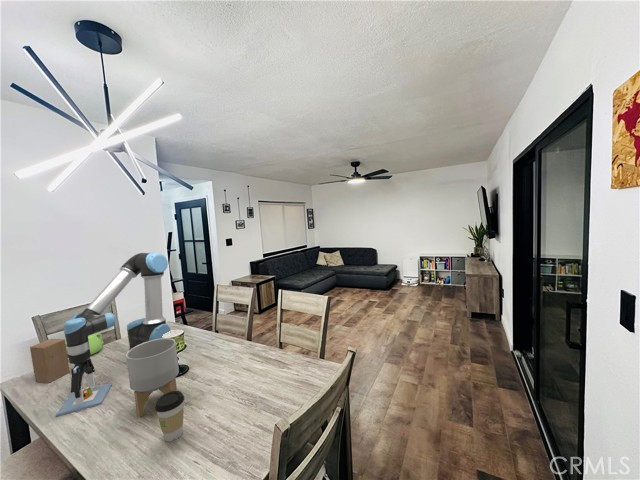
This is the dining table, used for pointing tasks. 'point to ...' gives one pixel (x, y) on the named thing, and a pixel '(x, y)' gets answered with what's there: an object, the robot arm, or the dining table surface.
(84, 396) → the rubik's cube
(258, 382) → the dining table surface
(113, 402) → the dining table surface
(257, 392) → the dining table surface
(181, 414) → the coffee cup
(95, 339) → the teapot
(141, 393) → the planter
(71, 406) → the plate
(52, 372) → the wooden block
